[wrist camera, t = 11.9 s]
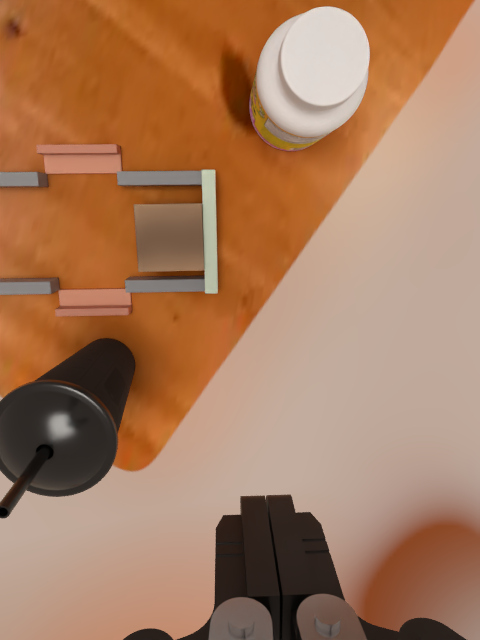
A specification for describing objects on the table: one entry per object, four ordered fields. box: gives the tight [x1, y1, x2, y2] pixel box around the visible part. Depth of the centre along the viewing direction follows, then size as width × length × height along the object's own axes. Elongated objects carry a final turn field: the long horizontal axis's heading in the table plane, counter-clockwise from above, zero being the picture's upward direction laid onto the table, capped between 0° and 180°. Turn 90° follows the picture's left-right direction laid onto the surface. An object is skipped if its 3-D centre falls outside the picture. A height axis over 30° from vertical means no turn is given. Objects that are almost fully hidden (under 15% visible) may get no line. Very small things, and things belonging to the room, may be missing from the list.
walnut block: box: [134, 203, 204, 272], centre depth 36 cm, size 5×5×4 cm
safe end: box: [202, 170, 218, 294], centre depth 36 cm, size 9×1×3 cm, turn 1°
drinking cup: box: [0, 338, 135, 518], centre depth 30 cm, size 8×8×20 cm
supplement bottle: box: [249, 6, 370, 151], centre depth 29 cm, size 7×7×13 cm
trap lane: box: [0, 144, 205, 316], centre depth 36 cm, size 13×20×2 cm
